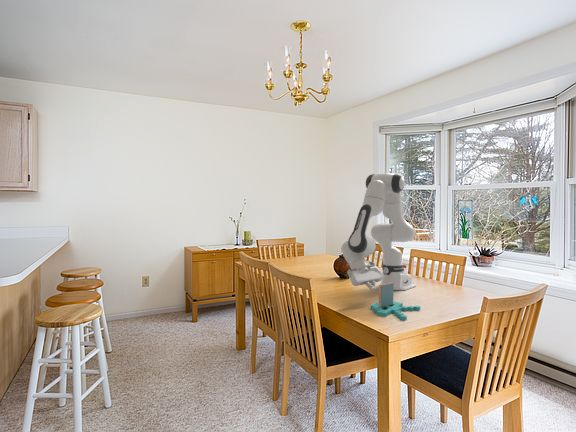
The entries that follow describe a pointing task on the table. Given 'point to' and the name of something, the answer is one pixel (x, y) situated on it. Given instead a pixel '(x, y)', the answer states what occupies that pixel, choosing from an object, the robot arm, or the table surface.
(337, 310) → the table surface
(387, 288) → the tile
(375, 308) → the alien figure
